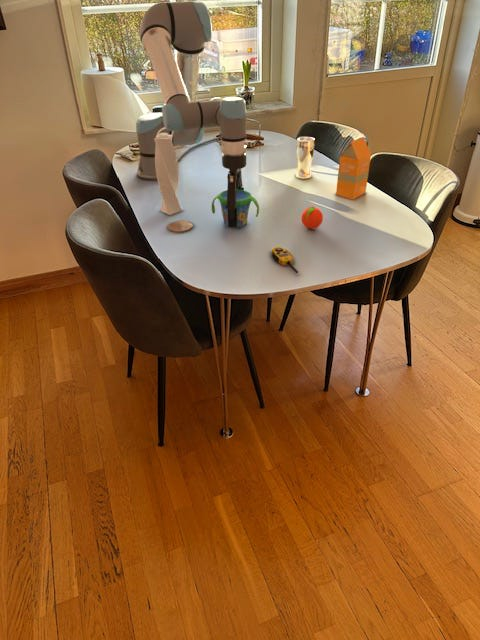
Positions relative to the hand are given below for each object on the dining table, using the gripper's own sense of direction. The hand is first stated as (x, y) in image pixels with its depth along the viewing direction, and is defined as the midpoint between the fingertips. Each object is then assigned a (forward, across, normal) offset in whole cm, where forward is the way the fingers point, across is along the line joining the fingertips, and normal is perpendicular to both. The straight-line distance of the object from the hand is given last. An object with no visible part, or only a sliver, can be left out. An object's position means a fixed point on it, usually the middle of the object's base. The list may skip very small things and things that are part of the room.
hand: (235, 218), depth 157 cm
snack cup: (+2, 0, 0) cm, 2 cm away
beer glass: (+2, +49, -22) cm, 54 cm away
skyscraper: (+2, +9, +24) cm, 26 cm away
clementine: (+2, -1, -25) cm, 25 cm away
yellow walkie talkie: (+2, -25, -18) cm, 31 cm away
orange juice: (+2, +31, -40) cm, 51 cm away
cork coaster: (+2, -4, +18) cm, 19 cm away
